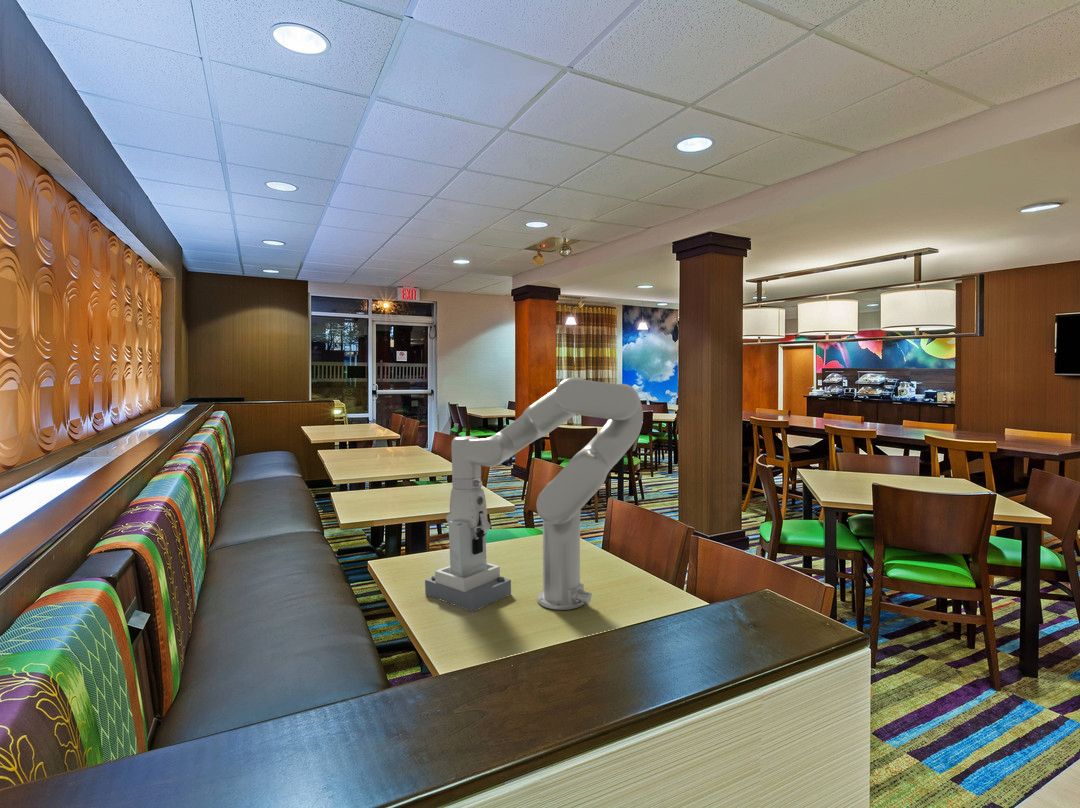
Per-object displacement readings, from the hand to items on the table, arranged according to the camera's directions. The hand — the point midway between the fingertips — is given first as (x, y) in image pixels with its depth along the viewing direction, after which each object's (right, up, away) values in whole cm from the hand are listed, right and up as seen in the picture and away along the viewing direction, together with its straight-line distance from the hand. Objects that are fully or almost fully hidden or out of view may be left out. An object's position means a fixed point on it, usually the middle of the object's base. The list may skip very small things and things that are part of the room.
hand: (468, 550), depth 149 cm
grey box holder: (0, -12, +1) cm, 12 cm away
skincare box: (0, -7, 0) cm, 7 cm away
